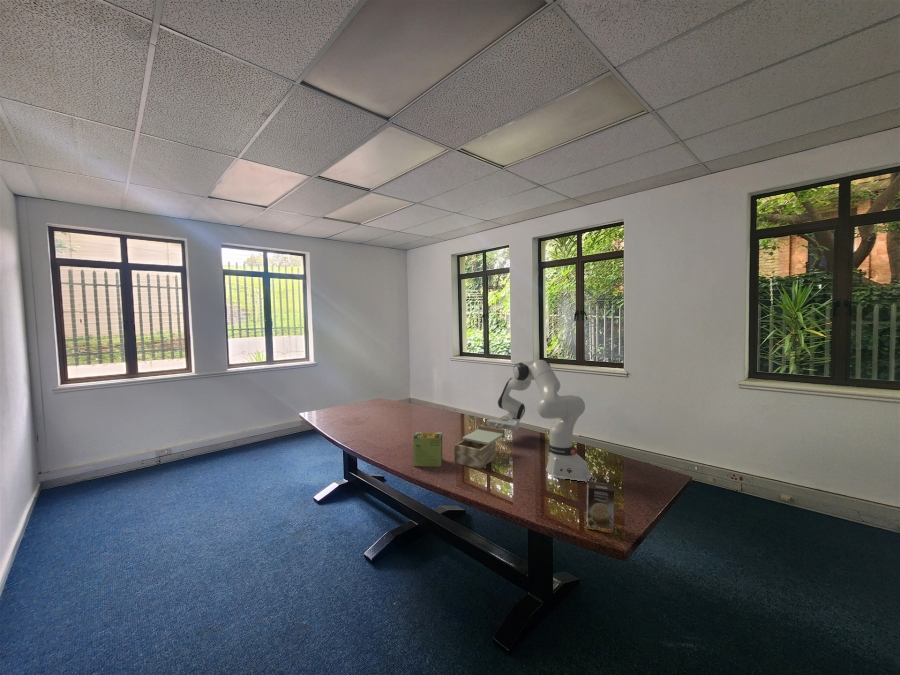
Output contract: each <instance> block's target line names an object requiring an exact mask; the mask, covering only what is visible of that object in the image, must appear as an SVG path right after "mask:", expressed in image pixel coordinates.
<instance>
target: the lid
mask: <svg viewBox="0 0 900 675" xmlns="http://www.w3.org/2000/svg"><path fill="white" fill-rule="evenodd" d="M477 426H478V427H477V429H476V430H474V431H472V432H470V433H469V434H466V435H464V436H463V437H461V441H462V440H467V441H472V442H476V443H481V444H486V445H489V444H491V443H493V442H494V441H497V440H499V439H500V438H502V439H504V438H505V436H506V434H505V433H506V432H505V429H499V428H495V427H490V426H487V425H480V424H479V425H477Z"/></svg>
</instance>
